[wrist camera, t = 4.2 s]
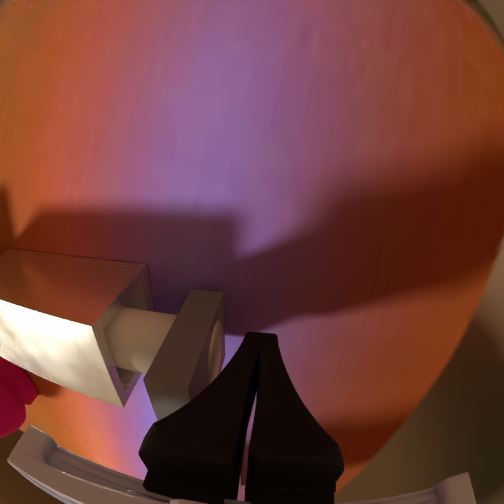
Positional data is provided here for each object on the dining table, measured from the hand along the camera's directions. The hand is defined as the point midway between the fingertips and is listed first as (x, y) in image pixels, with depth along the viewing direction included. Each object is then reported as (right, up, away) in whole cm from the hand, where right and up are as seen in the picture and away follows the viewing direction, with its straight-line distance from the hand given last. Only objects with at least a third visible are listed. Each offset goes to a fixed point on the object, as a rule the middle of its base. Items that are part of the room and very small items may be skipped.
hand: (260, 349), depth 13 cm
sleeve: (-12, +2, +3) cm, 12 cm away
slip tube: (-13, +2, +2) cm, 13 cm away
